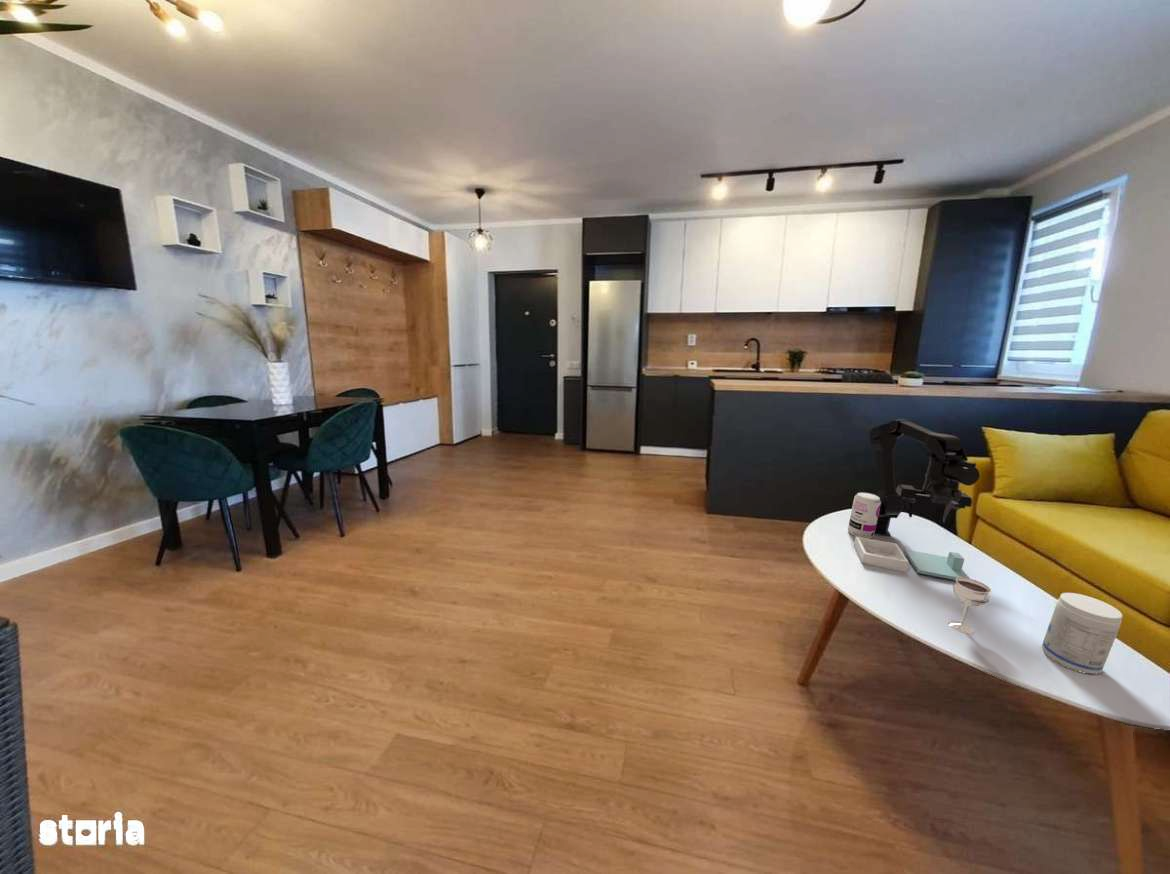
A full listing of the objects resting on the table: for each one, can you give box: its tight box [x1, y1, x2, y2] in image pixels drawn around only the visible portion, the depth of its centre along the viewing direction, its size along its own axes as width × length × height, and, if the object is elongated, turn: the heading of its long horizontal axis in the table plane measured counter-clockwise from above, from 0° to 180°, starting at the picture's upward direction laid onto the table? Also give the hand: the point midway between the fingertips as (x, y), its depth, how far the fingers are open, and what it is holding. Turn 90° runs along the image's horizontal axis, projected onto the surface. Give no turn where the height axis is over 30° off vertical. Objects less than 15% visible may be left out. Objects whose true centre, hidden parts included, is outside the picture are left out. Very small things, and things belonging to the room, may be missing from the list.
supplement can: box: [847, 491, 881, 539], centre depth 158 cm, size 8×8×15 cm
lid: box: [904, 549, 971, 581], centre depth 137 cm, size 14×13×6 cm
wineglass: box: [948, 577, 992, 635], centre depth 108 cm, size 7×7×12 cm
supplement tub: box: [1041, 592, 1124, 675], centre depth 98 cm, size 10×10×15 cm
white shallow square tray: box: [853, 536, 910, 573], centre depth 142 cm, size 13×12×4 cm
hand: (926, 519), depth 142 cm, fingers open, 9 cm apart
